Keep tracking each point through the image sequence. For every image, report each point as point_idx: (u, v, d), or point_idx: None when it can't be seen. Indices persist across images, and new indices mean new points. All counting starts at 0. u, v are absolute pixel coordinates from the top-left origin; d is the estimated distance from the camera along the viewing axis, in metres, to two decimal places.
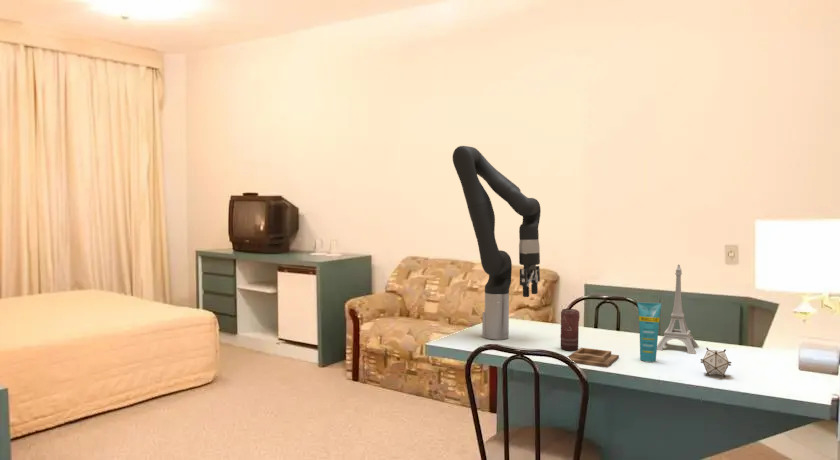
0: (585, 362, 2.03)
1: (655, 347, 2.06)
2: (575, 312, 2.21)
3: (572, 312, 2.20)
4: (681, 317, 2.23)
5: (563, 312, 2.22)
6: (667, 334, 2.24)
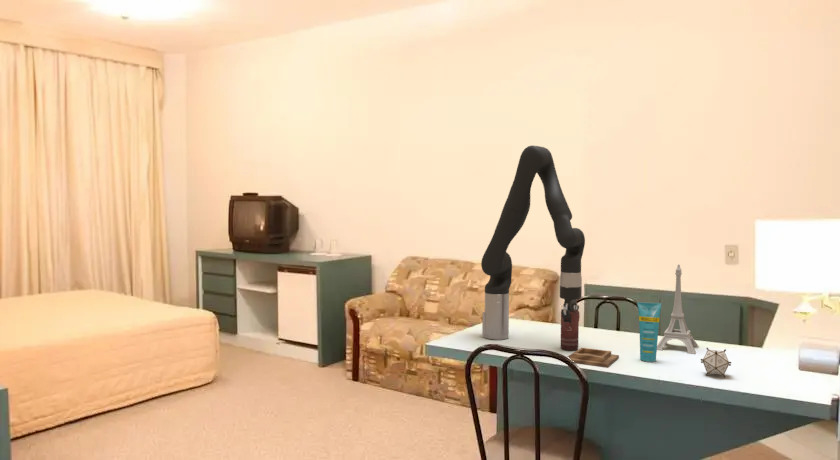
0: (585, 362, 2.03)
1: (655, 347, 2.06)
2: (575, 312, 2.21)
3: (572, 312, 2.20)
4: (681, 317, 2.23)
5: None
6: (667, 334, 2.24)
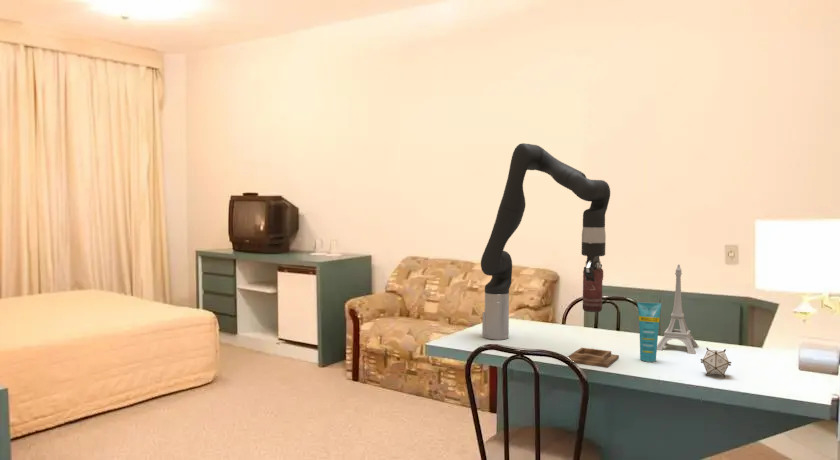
0: (585, 362, 2.03)
1: (655, 347, 2.06)
2: (599, 270, 2.05)
3: (595, 270, 2.05)
4: (681, 317, 2.23)
5: None
6: (667, 334, 2.24)
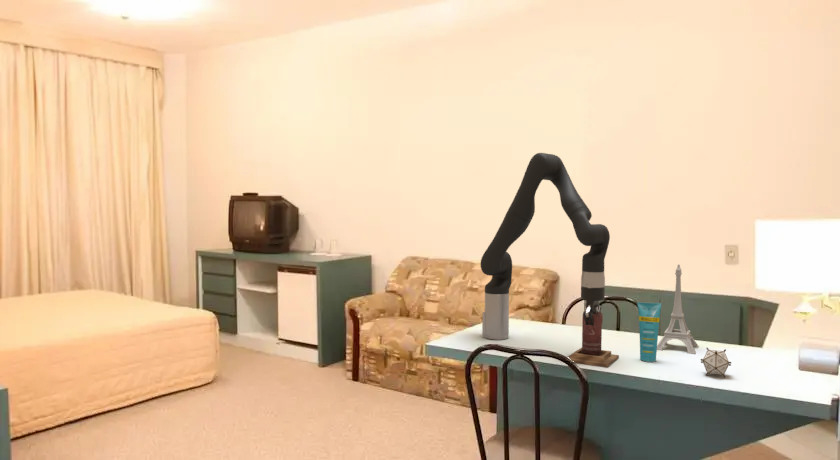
0: (585, 362, 2.03)
1: (655, 347, 2.06)
2: (598, 314, 2.06)
3: (595, 314, 2.05)
4: (681, 317, 2.23)
5: None
6: (667, 334, 2.24)
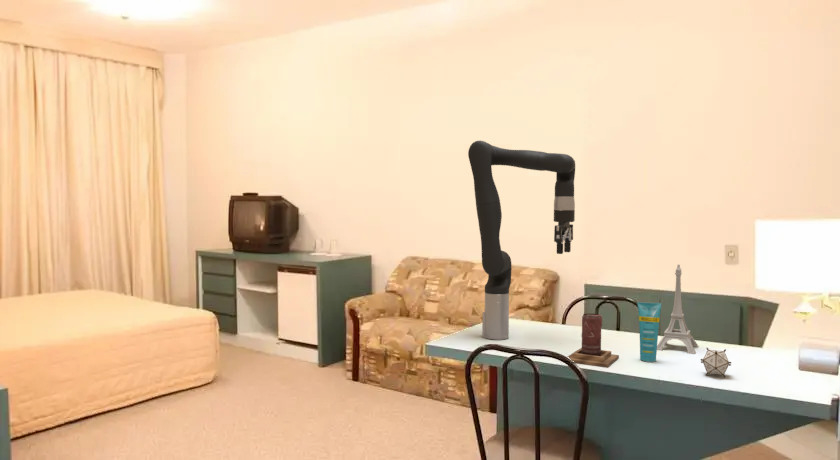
0: (585, 362, 2.03)
1: (655, 347, 2.06)
2: (597, 317, 2.06)
3: (594, 317, 2.05)
4: (681, 317, 2.23)
5: (584, 317, 2.07)
6: (667, 334, 2.24)
